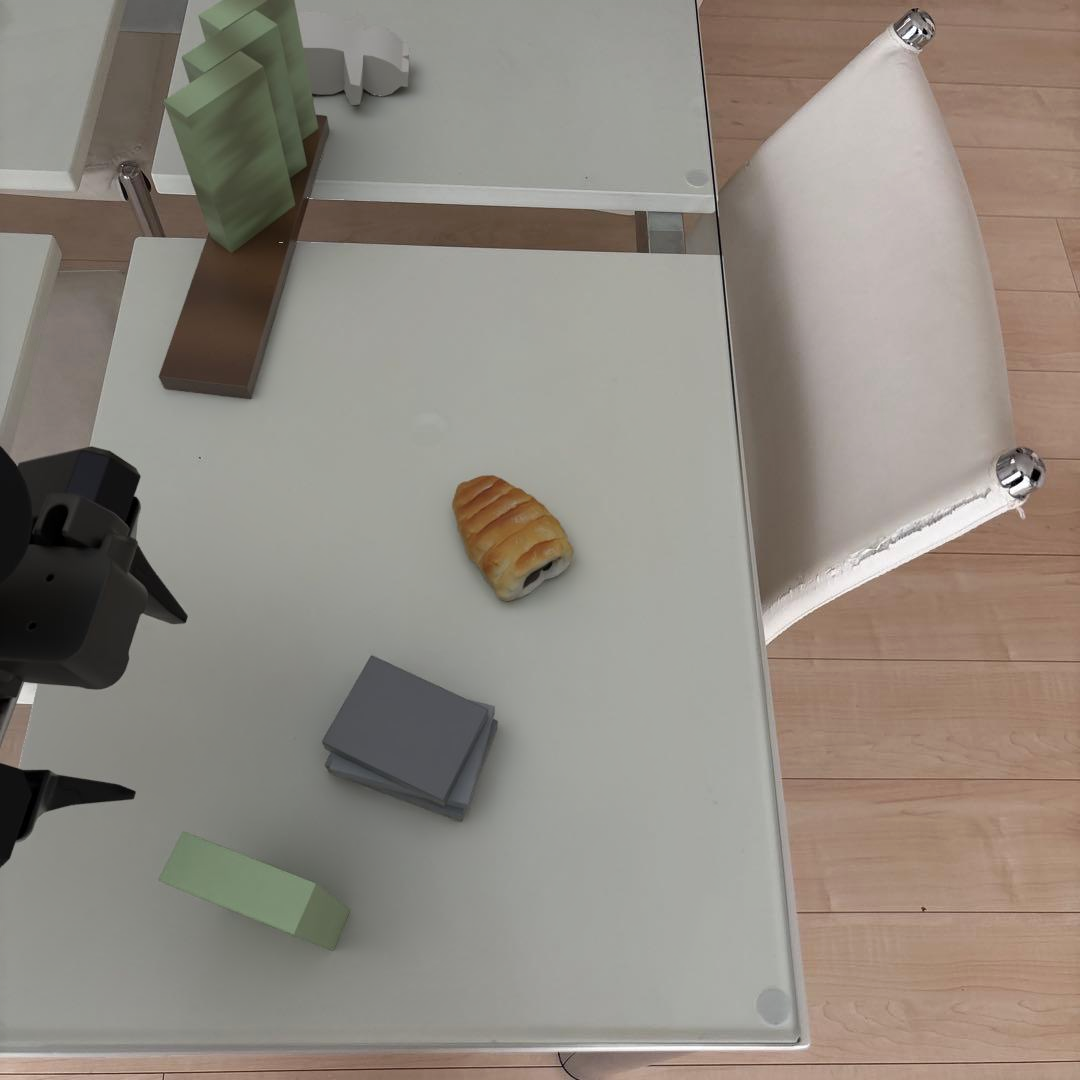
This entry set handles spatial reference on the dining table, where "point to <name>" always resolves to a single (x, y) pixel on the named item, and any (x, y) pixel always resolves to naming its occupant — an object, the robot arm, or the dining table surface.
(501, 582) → the pastry
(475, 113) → the dining table surface
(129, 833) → the dining table surface
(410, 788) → the grey books
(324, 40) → the white curved block
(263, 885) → the green book
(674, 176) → the dining table surface
